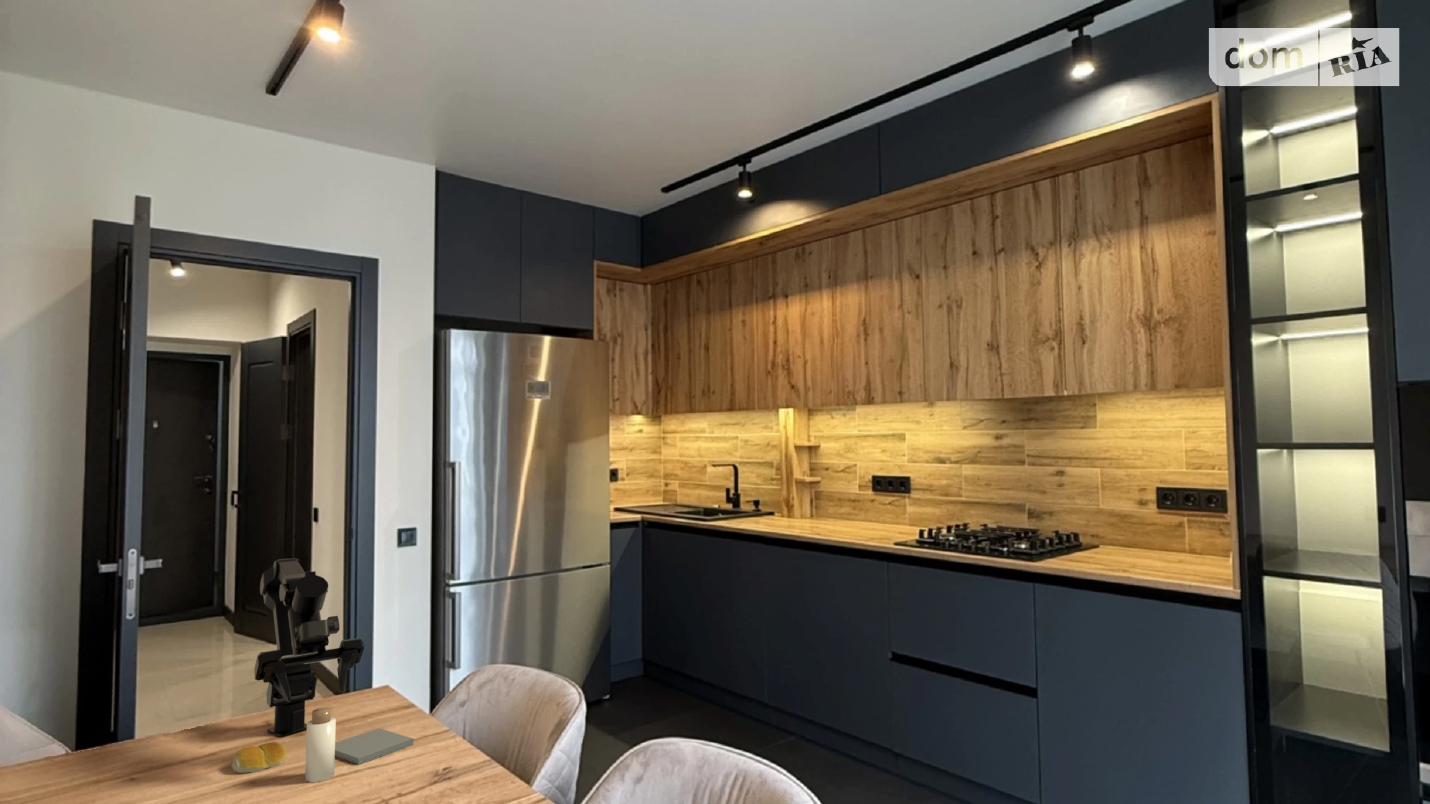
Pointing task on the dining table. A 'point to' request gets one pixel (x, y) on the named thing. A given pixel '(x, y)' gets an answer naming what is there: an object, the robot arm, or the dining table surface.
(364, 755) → the plate
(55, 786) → the dining table surface
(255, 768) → the bread roll
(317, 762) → the lotion bottle
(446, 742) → the dining table surface
